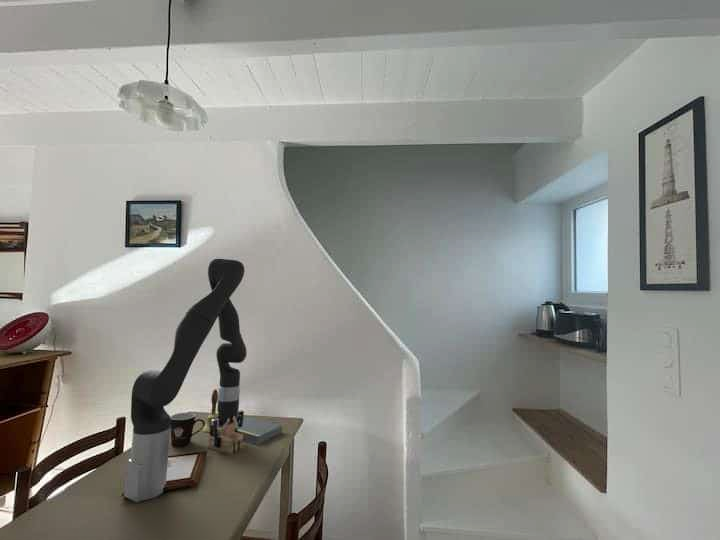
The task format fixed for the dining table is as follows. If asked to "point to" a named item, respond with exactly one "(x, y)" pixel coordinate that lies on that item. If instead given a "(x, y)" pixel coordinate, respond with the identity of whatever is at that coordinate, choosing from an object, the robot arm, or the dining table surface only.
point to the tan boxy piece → (228, 443)
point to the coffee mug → (183, 428)
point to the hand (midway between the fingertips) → (225, 443)
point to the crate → (228, 429)
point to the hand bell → (213, 413)
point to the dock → (258, 430)
